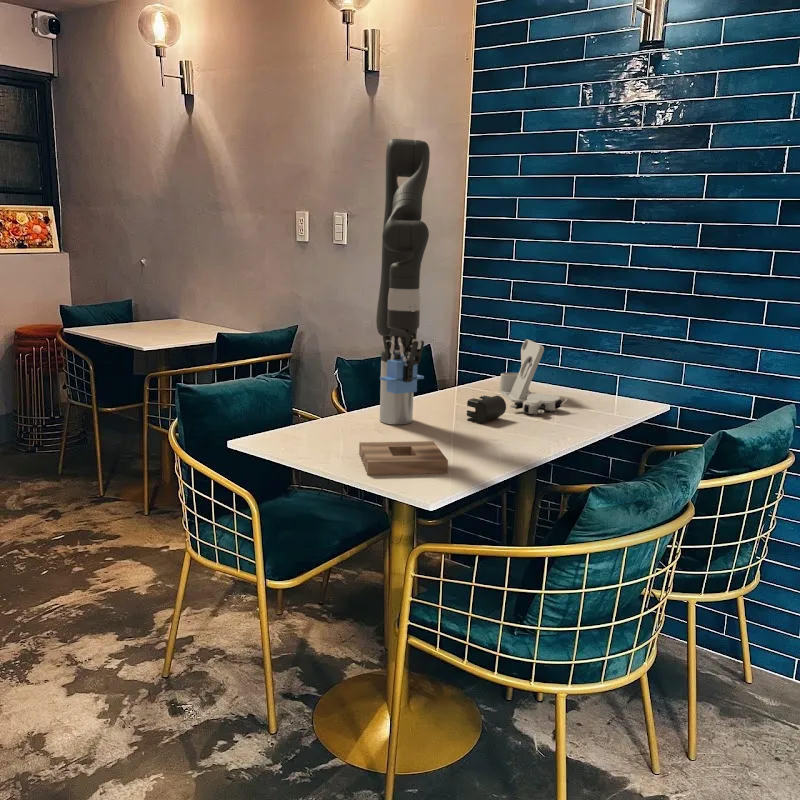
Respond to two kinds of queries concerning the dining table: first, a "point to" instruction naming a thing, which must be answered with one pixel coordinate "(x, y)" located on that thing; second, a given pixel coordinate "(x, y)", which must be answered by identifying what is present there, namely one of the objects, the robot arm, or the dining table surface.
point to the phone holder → (522, 373)
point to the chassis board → (402, 458)
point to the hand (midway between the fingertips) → (401, 379)
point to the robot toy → (539, 403)
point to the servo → (400, 378)
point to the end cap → (486, 408)
